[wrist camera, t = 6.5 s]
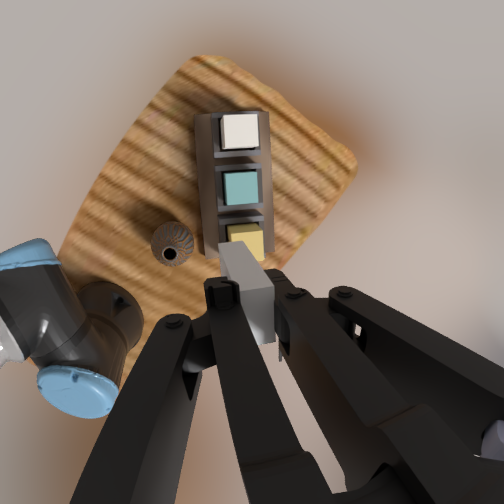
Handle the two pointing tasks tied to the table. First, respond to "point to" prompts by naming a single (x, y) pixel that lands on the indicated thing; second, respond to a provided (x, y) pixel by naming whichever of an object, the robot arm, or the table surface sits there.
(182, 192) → the table surface
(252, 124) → the plunger cream
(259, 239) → the plunger ochre
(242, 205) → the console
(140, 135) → the table surface
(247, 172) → the plunger teal
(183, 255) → the vase
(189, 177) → the table surface
